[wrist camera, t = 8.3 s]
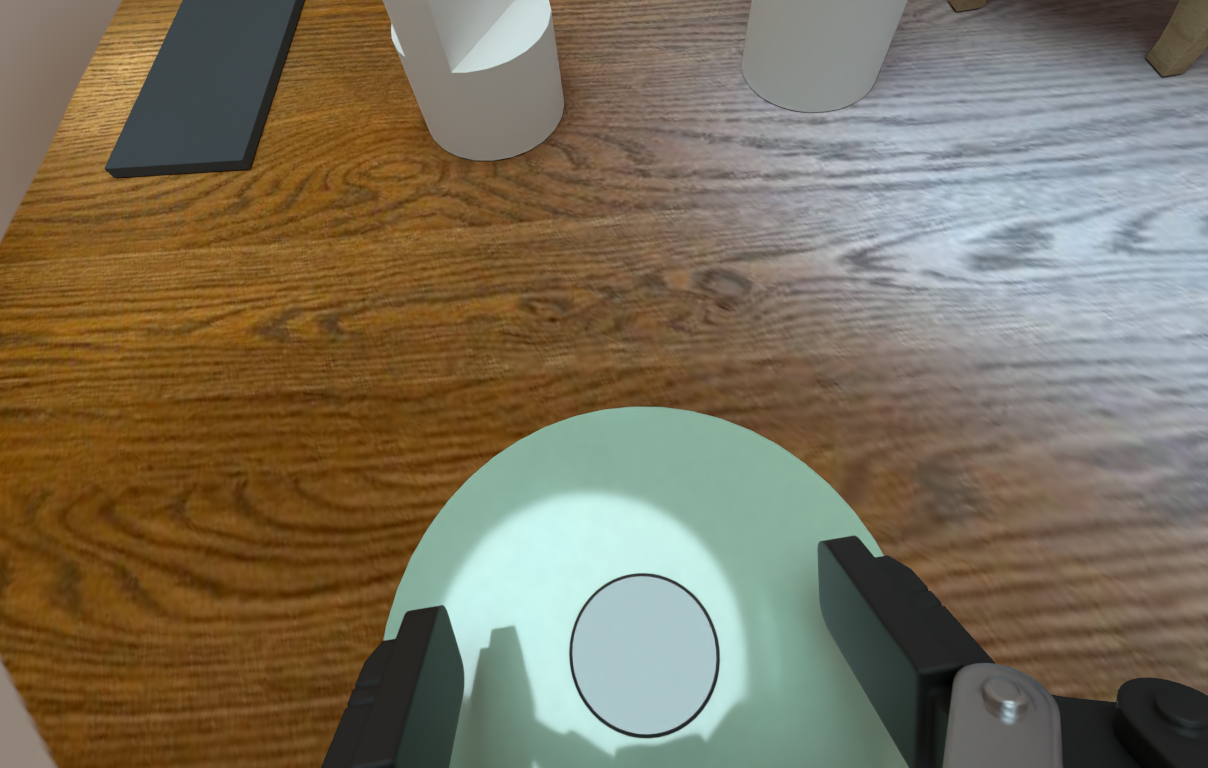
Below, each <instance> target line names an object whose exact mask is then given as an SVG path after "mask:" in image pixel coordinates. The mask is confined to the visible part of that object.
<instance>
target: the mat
mask: <svg viewBox="0 0 1208 768" xmlns="http://www.w3.org/2000/svg"><path fill="white" fill-rule="evenodd" d="M303 3H304V0H183V1H182V3H181V5H180V8H179V10H178V12H177V14H176V16H175V18H174V20H173V23H172V25H171V27H170V29H169V31H168V33H167V35H166V38H165V40H164V42H163V44H162V46H161V48H160V51H159V53H158V55H157V57H156V59H155V61H154V63H153V66H152V68H151V70H150V72H149V74H148V76H147V78H146V81H145V83H144V85H143V87H142V89H141V91H140V93H139V96H138V98H137V100H136V102H135V104H134V106H133V108H132V111H131V113H130V115H129V117H128V119H127V121H126V123H125V126H124V128H123V130H122V132H121V134H120V136H119V138H118V141H117V143H116V145H115V147H114V149H113V151H112V153H111V156H110V158H109V160H108V162H107V164H106V166H105V170H106V171H107V172H109V173H110V174H111V175H112V176H113V177H114V178H119V177H135V176H150V175H166V174H182V173H198V172H214V171H230V170H246V169H250V167H251V164H252V161H253V158H254V154H255V151H256V148H257V145H258V142H259V139H260V136H261V133H262V130H263V127H264V124H265V120H266V117H267V114H268V111H269V108H270V105H271V102H272V99H273V96H274V93H275V90H276V86H277V83H278V80H279V77H280V74H281V71H282V68H283V65H284V62H285V59H286V56H287V52H288V49H289V46H290V43H291V40H292V37H293V34H294V31H295V28H296V25H297V21H298V18H299V15H300V12H301V9H302V6H303Z"/></svg>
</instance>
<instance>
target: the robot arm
mask: <svg viewBox="0 0 1208 768" xmlns="http://www.w3.org/2000/svg"><path fill="white" fill-rule="evenodd" d="M817 553H818V579H819V601H820V607H821V612H822V615H823V619H824V621H825V624H826V626H827V629H828V631H829V632H830V634H831V636H832V638H833V639H834V641H835V643H836V644H837V646H838V648H839V649H840V651H841V653H842V655H843V656H844V658H845V660H846V661H847V663H848V665H849V666H850V668H851V670H852V672H853V673H854V675H855V677H856V678H857V680H858V682H859V683H860V685H861V687H862V689H863V690H864V692H865V694H866V695H867V697H868V699H869V700H870V702H871V704H872V706H873V707H874V709H875V711H876V712H877V714H878V716H879V717H880V719H881V721H882V723H883V724H884V726H885V728H886V729H887V731H888V733H889V734H890V736H891V738H892V740H893V741H894V743H895V745H896V746H897V748H898V750H899V751H900V753H901V755H902V757H903V758H904V760H905V762H906V763H907V765H908V767H909V768H1208V696H1207V695H1205V694H1203V693H1202V692H1200V691H1197V690H1195V689H1193V688H1191V687H1188V686H1185V685H1182V684H1180V683H1176V682H1172V681H1169V680H1164V679H1158V678H1137V679H1132V680H1130V681H1127V682H1125V683H1124V684H1123V685H1122V686H1121V687H1120V689H1119V690H1118V695H1117V700H1116V702H1107V701H1097V700H1088V699H1078V698H1068V697H1061V696H1056V695H1052V694H1050V693H1049V692H1048V690H1047V689H1046V688H1045V687H1043V686H1042V685H1041V684H1040V683H1039V682H1037V681H1036V680H1034V679H1033V678H1032V677H1030V676H1028V675H1026V674H1024V673H1023V672H1020V671H1018V670H1016V669H1013V668H1010V667H1007V666H1003V665H999V664H996V663H995V662H994V661H993V660H992V659H991V658H990V657H989V656H988V654H987V653H986V652H985V651H984V650H983V649H982V648H981V647H980V645H979V644H978V643H977V642H976V641H975V640H974V639H973V638H972V637H971V635H970V634H969V633H968V632H967V631H966V630H965V629H964V628H963V626H962V625H961V624H960V623H959V622H958V621H957V620H956V619H955V618H954V616H953V615H952V614H951V613H950V612H949V611H948V610H947V609H946V607H945V606H943V607H942V605H941V602H940V601H939V600H938V599H937V597H936V596H935V595H934V594H933V593H932V592H931V591H928V588H927V586H926V585H925V584H924V583H923V582H922V581H921V580H920V578H919V577H918V576H917V575H916V574H915V573H914V572H913V571H912V569H910V568H908V567H907V566H905V565H903V564H901V563H900V562H898V561H896V560H895V559H893V558H891V557H890V556H888V555H886V556H881V557H874V556H873V554H872V553H871V552H870V551H869V550H868V548H867V547H866V546H865V545H864V544H863V542H862V541H861V540H860V539H859V538H858V537H857V536H855V535H854V536H848V537H842V538H836V539H830V540H824V541H820V542H819V543H818V548H817ZM355 685H356V688H355V689H353V692H352V694H351V697H350V699H349V701H348V708H346V709H345V711H344V713H343V716H342V718H341V721H340V723H339V726H338V728H337V730H336V733H335V735H334V738H333V740H332V742H331V745H330V747H329V750H328V752H327V755H326V757H325V759H324V762H323V764H322V767H321V768H449V766H450V760H451V755H452V750H453V745H454V740H455V735H456V730H457V725H458V720H459V714H460V709H461V704H462V699H463V694H464V667H463V662H462V658H461V655H460V651H459V648H458V645H457V641H456V638H455V635H454V631H453V628H452V625H451V621H450V618H449V615H448V612H447V609H446V608H445V606H444V605H439V606H433V607H428V608H422V609H416V610H410V611H407V612H406V613H405V615H404V617H403V620H402V623H401V625H400V628H399V631H398V634H397V636H396V639H392V640H386V641H382V642H381V644H380V645H379V646H378V647H377V648H376V649H375V651H374V652H373V653H372V654H371V655H370V657H369V658H368V659H367V660H366V661H365V663H364V665H363V668H362V670H361V672H360V675H359V677H358V680H357V682H356V684H355Z"/></svg>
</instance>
